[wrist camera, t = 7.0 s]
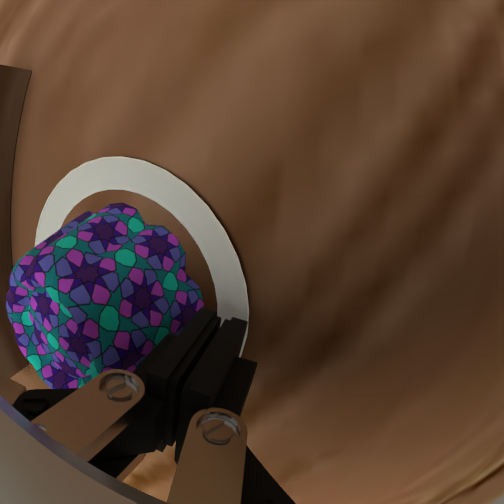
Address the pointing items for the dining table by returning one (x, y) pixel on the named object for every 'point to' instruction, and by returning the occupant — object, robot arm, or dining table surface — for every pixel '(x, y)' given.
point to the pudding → (115, 275)
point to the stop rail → (8, 206)
